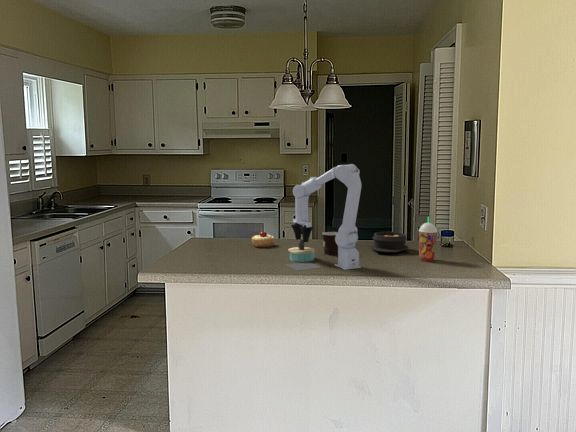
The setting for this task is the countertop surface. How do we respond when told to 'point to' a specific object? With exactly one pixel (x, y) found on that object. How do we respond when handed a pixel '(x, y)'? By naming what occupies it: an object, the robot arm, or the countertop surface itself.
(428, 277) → the countertop surface
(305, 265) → the mat
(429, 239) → the smoothie
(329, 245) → the coffee mug
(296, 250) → the lid
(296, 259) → the bowl
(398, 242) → the casserole
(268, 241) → the pastry
